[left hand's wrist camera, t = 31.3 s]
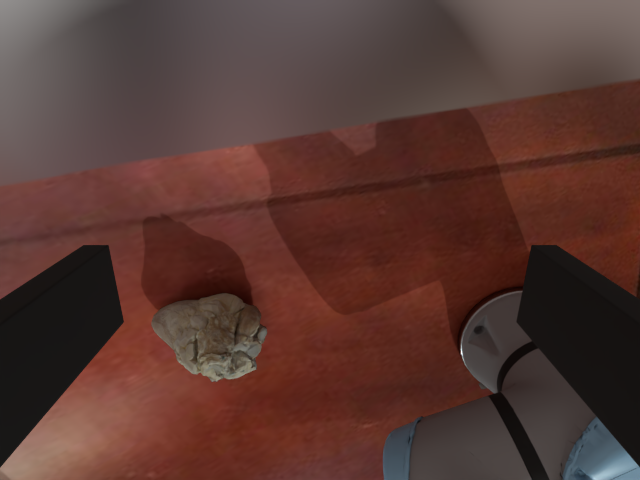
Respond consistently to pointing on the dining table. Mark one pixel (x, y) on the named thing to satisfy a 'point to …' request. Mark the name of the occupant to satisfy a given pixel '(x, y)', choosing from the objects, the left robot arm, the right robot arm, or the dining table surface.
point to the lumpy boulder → (212, 335)
